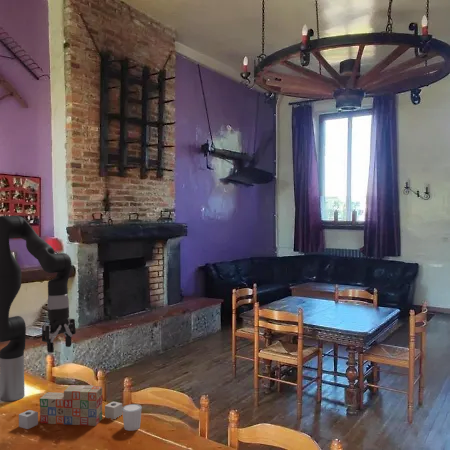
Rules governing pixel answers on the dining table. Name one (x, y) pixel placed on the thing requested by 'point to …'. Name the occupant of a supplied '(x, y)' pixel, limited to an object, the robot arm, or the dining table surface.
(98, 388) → the stack of blocks
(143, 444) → the dining table surface
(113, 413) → the ivory marked cube
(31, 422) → the grey marked cube
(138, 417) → the shot glass
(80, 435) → the dining table surface
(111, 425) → the dining table surface
